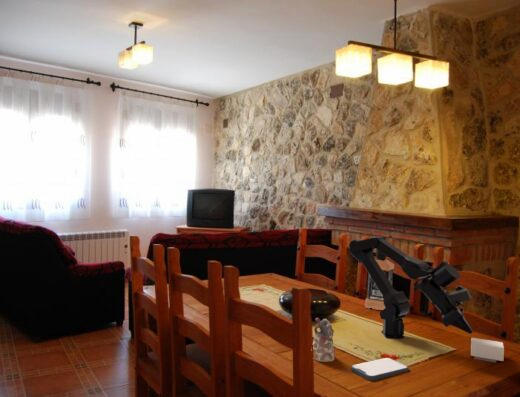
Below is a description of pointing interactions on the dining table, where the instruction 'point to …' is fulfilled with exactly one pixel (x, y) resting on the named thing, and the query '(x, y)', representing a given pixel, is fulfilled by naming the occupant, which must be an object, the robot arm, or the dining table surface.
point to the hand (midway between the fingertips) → (471, 332)
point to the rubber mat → (484, 359)
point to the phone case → (379, 369)
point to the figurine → (323, 341)
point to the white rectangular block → (487, 349)
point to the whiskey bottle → (373, 293)
